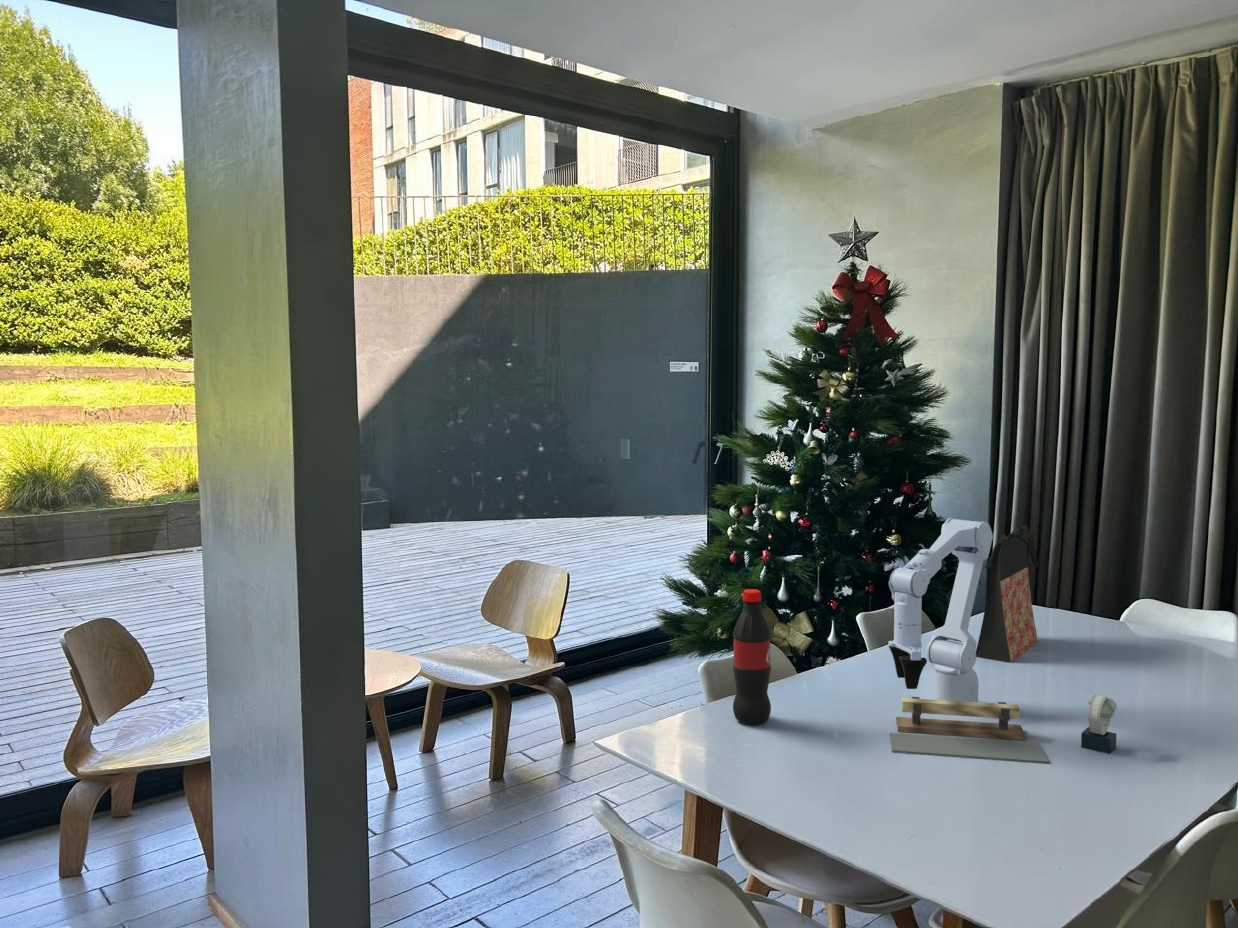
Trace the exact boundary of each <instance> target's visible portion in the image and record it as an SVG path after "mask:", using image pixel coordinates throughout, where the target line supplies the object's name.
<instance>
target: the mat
mask: <svg viewBox="0 0 1238 928" xmlns="http://www.w3.org/2000/svg"><path fill="white" fill-rule="evenodd" d="M888 734H889V740H890V747H891V753H899V754H900V753H901V754H902V753H903V754H915V755H927V756H928V755H929V756H939V757H941V756H943V757H952V758H953V757H954V758H955V757H956V758H967V759H969V758H970V759H983V760H993V761H994V760H995V761H996V760H997V761H1009V762H1023V763H1024V762H1025V763H1036V764H1037V763H1039V764H1049V763H1050V762H1049V759H1048V757H1047V756H1046V754H1045V752H1044V751H1043V749H1042V747H1041V745H1040V743H1039V742H1034V741H1033V742H1032V741H1031V742H1030V741H1028V742H1027V741H1019V740H1006V739H1003V740H1002V739H991V738H977V737H973V738H972V737H962V736H958V737H956V736H948V735H933V734H919V733H904V732H900V733H899V732H889V733H888Z"/></svg>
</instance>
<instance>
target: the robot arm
mask: <svg viewBox="0 0 1238 928" xmlns="http://www.w3.org/2000/svg"><path fill="white" fill-rule="evenodd" d="M940 533H941V534H940V535H939V536H938V538H937V539H936V540H935V541H934V543H932V545H931V546H930V548H924V549H923V548H922V549H920V550H919V551H918V553H916V554H915V556H913V557H912V558H911V560H909V561H908V562H907V564H906V565H904V566H903V567H897V568H895V569H894V570H892V571H891V574H890V575H889V576H890V577H889V581H888V587H889V590H890V592H891V599H892V601H894V609H893V611H894V613H893V614H894V616H893V619H894V620H893V640H888V648H889V650H890V652H891V655H892V658H893V661H894V666H895V672H896V675H897V678H900V679H901V678H902V679H903V678H904V684H905V688H906V689H908V690H917V689H918V686H919V682H920V679H921V675H922V672H923V670H924V669H925V666H926V664H927V663H928V662H929V664H930V665H931V668H932V669H934V670H933V673H934V674H933V675H934V676H933V678H934V679H933V699H932V700H946V701H962V702H979V688H980V687H979V683H980V682H979V678H978V673H976V671H975V670H974V669H973V668H974V666H975V664H976V659H977V657H976V649H977V645H978V641H976V639H975V638H974V636H973V635H972V634H970V632H969V631H968V629H969V626H970V625H969V624H970V621H971V616H972V612H973V608H974V603H975V599H976V595H977V591H978V587H979V586H978V585H979V581H980V577H981V573H982V568H983V565H984V564H983V563H984V561H986V560H988V558H989V554H990V551H991V547H992V542H993V538H994V535H993V531H992V528H991V525H990V524H989V523H988V522H987V521H975V520H965V519H956V518H954V517H950V518H948V519H946V521H944V523H943V524H942V525H941V531H940ZM949 554H952V555H954V556H955V557H957V559H958V567H957V571H956V574H955V579H954V583H953V587H952V590H951V591H952V593H951V596H950V599H949V600H950V601H949V605H948V610H947V614H946V618H945V622H944V624H943V626H941V627H939V628H937V629H935V630H933V632H932V636H931V639H930V640H929V642H928V643H927V646H926V652H925V653H926V657H922V651H921V650H922V648H923V642H922V606H923V605H922V603H923V602H922V601H923V599H922V597H923V596H924V595H925V594H926V592H927V590H928V587H929V586H928V585H929V584H930V582H931V579H932V578H933V577H934V576H935V574H937V572H938V571H939V570H940V569H941V568H942V564H943V563H942V560H943V559H945V558H946V557H947V556H948V555H949Z"/></svg>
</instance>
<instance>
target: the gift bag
mask: <svg viewBox="0 0 1238 928" xmlns="http://www.w3.org/2000/svg"><path fill="white" fill-rule="evenodd" d="M1017 532H1019V534H1017ZM1028 551H1029V555H1030V559H1031V562H1032V564H1033V565H1034V566H1035V567H1037V568H1039V567H1040V566H1039V565H1040V564H1039V562H1038V557H1037V551H1036V548H1035V542H1034V539H1033V535H1032V533H1031V531H1030V529H1029V527H1028V526H1027V525H1023V526H1022V527H1019V526H1018V527H1016V528H1014V529H1013V530H1012V532H1010V533H1009V534H1007V535H1006V534H1003V535H1001V536H1000V538H999V539H998V540H997V541H996V544H994V546H993V548H992V552H991V554H990V556H989V559H988V562H987V565H986V566H985V567H983V568H985V569H989V568H990V570H989V578H988V585H987V592H986V601H985V607H984V611H983V618H982V621H981V622H982V623H981V627H980V632H979V637H978V641H977V644H976V658H980V659H987V660H993V661H999V662H1004V663H1010V664H1012V663H1013V662H1014V661H1015V660H1017V659H1018V658H1019V657H1020V656H1022V655H1023V654H1024V653H1026V652H1027V651H1028V650H1029V649H1031V648H1032V647H1034V646H1035V645H1036V644H1037V643H1038V642H1039V638H1038V634H1037V628H1036V621H1035V618H1034V611H1033V604H1032V596H1031V594H1032V593H1031V586H1030V575H1029V563H1028V562H1029V560H1028Z"/></svg>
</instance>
